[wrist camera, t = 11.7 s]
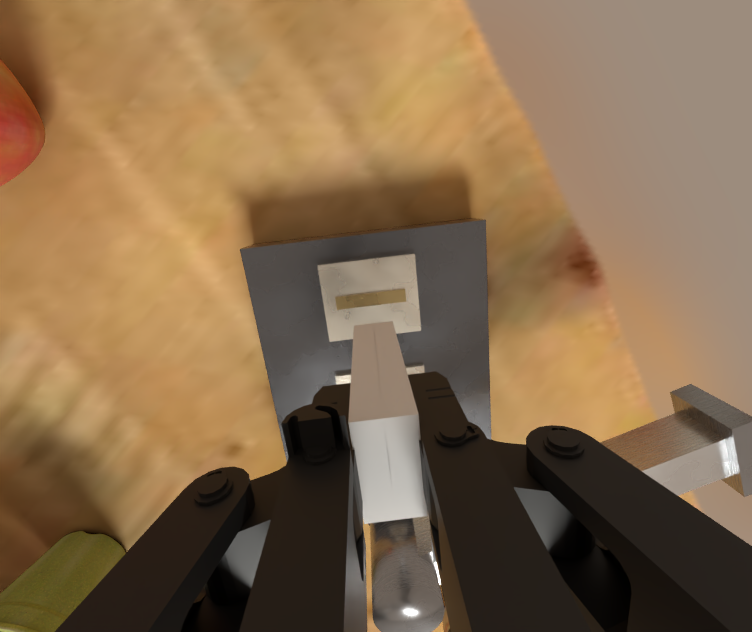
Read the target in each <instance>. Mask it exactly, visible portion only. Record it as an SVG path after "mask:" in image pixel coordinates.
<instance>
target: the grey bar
mask: <svg viewBox="0 0 752 632" xmlns="http://www.w3.org/2000/svg"><path fill="white" fill-rule="evenodd" d="M670 394H671V398H672V402H673V407H674V411H675V413H674V414H672V415H669V416H667V417H664V418H661V419H659V420H656V421H654V422H651V423H649V424H646V425H644V426H641V427H639V428H636V429H634V430H631V431H629V432H626V433H623V434H621V435H618V436H616V437H613V438H611V439H608V440H606V441H603V442H601V444H602V445H604V446H605V447H607V448H608V449H610V450H611V451H613V452H614V453H616V454H617V455H619V456H620V457H621V458H623V459H624V460H626V461H627V462H629V463H630V464H632V465H633V466H635V467H636V468H638V469H639V470H641V471H642V472H643V473H645V474H646V475H648V476H649V477H651V478H652V479H654V480H655V481H657V482H658V483H660V484H661V485H663V486H664V487H666V488H667V489H668V490H670V491H671V492H673V493H674V494H676V495H677V496H678V495H681V494H684V493H686V492H689V491H692V490H694V489H697V488H700V487H702V486H705V485H708V484H710V483H713V482H715V481H718V480H723V481H724V482H725V483H727V484H728V485H729V486H731V487H732V488H733V489H735V490H736V491H737V492H739V493H740V494H741V495H743V496H744V497H746V496H748V495H751V494H752V417H751V416H750V415H748V414H746V413H744V412H742V411H740V410H739V409H736V408H735V407H733V406H731V405H729V404H727V403H725V402H724V401H721V400H720V399H718V398H716V397H714V396H712V395H710V394H709V393H707V392H705V391H703V390H701V389H699V388H698V387H696V386H693V385H692V384H689V385H687V386H684V387H682V388H679V389H677V390H675V391H672V392H670ZM427 512H428V511H427ZM370 538H371V572H372V605H373V620H374V623H375V625H376V627H377V628H378V629H379V630H380V631H381V632H432V631H433V630H434V629H436V628H437V627H438V626H439V624H440V623H441V622H442V620H443V617H444V612H445V611H444V604H443V599H442V594H441V590H440V585H441V582H440V577H439V572H438V568H437V563H433V554H432V543H431V532H430V521H429V514H428V516H424V517H416V518H408V519H400V520H391V521H383V522H375V523H370Z"/></svg>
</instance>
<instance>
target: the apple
mask: <svg viewBox="0 0 752 632" xmlns="http://www.w3.org/2000/svg"><path fill="white" fill-rule="evenodd" d="M44 142H45V130H44V125H43V122H42V120H41V118H40V116H39V114H38V112H37V110H36V108H35V106H34V104H33V103H32V101H31V99H30V98H29V96H28V95H27V93H26V92H25V90H24V89H23V87H22V86H21V85H20V83H19V82H18V80H17V79H16V78H15V76H14V75H13V74H12V72H11V71H10V70H9V69H8V67H7V66H6V65H5V64H4V63H3V62H2V60H1V59H0V186H2V185H3V184H5V183H7V182H8V181H10V180H11V179H13V178H14V177H16V176H17V175H18V174H20V173H21V172H22V171H23V170H24V169H26V168H27V167H28V166H29V165H30V164H31V163H32V162H33V161H34V160H35V158H36V157H37V156H38V154H39V152H40V151H41V149H42V147H43V145H44Z"/></svg>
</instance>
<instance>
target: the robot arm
mask: <svg viewBox="0 0 752 632" xmlns="http://www.w3.org/2000/svg"><path fill="white" fill-rule="evenodd" d="M281 425H282V429H283V434H284V438H285V443H286V447H287V452H288V461H287V464H286V466H285V467H283V468H281V469H280V470H278V471H275V472H273V473H271V474H268V475H265V476H262V477H260V478H257V479H254V480H251V481H250V478H249V474H248V473H247V472H246V471H245V470H244V469H241V468H237V467H225V468H219V469H216V470H213V471H210V472H208V473H206V474H204V475H202V476H201V477H199V478H197V479H195V480H194V481H193V482H192V483H191V484H190V485H188V486H187V487H186V488H185V489H184V490H183V491H182V492H181V493H180V495H179V496H178V497H177V498H176V499H175V500H174V501H173V502H172V503H171V504H170V505H169V507H168V508H167V509H166V510H165V511H164V512H163V513H162V514H161V515H160V516H159V518H158V519H157V520H156V521H155V522H154V523H153V524H152V525H151V526H150V527H149V529H148V530H147V531H146V532H145V533H144V534H143V535H142V536H141V537H140V538H139V540H138V541H137V542H136V543H135V544H134V545H133V546H132V547H131V548H130V549H129V550H128V552H127V553H126V554H125V555H124V556H123V557H122V558H121V559H120V560H119V561H118V563H117V564H116V565H115V566H114V567H113V568H112V569H111V570H110V571H109V572H108V574H107V575H106V576H105V577H104V578H103V579H102V580H101V581H100V582H99V583H98V584H97V586H96V587H95V588H94V589H93V590H92V591H91V592H90V593H89V594H88V595H87V597H86V598H85V599H84V600H83V601H82V602H81V603H80V604H79V605H78V606H77V608H76V609H75V610H74V611H73V612H72V613H71V614H70V615H69V616H68V617H67V619H66V620H65V621H64V622H63V623H62V624H61V625H60V626H59V627H58V628H57V629H56V631H55V632H367V594H366V544H365V538H364V531H363V520H364V524H367V523H375V522H383V521H391V520H400V519H408V518H416V517H424V516H428V514H429V521H430V532H431V543H432V554H433V563H437V568H438V572H439V577H440V582H441V587H442V592H443V596H444V601H445V606H446V611H447V615H448V620H449V625H450V630H451V632H752V546H750V545H749V544H748V543H746V542H745V541H743V540H742V539H740V538H739V537H737V536H736V535H734V534H733V533H732V532H730V531H728V530H727V529H726V528H724V527H723V526H721V525H720V524H718V523H717V522H715V521H714V520H712V519H711V518H710V517H708V516H707V515H705V514H704V513H702V512H701V511H699V510H698V509H696V508H695V507H693V506H692V505H690V504H689V503H688V502H686V501H685V500H683V499H682V498H680V497H679V496H677V495H676V494H674V493H673V492H671V491H670V490H668V489H667V488H666V487H664V486H663V485H661V484H660V483H658V482H657V481H655V480H654V479H652V478H651V477H649V476H648V475H646V474H645V473H643V472H642V471H641V470H639V469H638V468H636V467H635V466H633V465H632V464H630V463H629V462H627V461H626V460H624V459H623V458H621V457H620V456H619V455H617V454H616V453H614V452H613V451H611V450H610V449H608V448H607V447H605V446H604V445H602V444H601V443H599V442H598V441H597V440H595V439H594V438H592V437H591V436H589V435H587V434H585V433H583V432H581V431H579V430H576V429H572V428H569V427H565V426H552V425H551V426H544V427H539V428H537V429H535V430H533V431H531V432H530V433H529V435H528V436H527V438H526V445H522V444H511V443H503V442H497V441H494V440H491V439H487V437H486V435H485V434H484V432H483V431H482V430H481V429H480V428H479V427H478V426H477V425H475V424H473V423H471V422H469V421H468V420H467V418H466V416H465V414H464V412H463V410H462V408H461V406H460V404H459V402H458V400H457V398H456V396H455V394H454V392H453V390H452V389H451V386H450V384H449V382H448V380H447V378H446V377H444V376H443V375H441V374H440V373H438V372H437V371H434V372H426V373H418V374H410V375H407V371H406V367H405V364H404V360H403V357H402V353H401V349H400V346H399V342H398V339H397V335H396V332H395V328H394V324H393V321H388V322H379V323H371V324H363V325H355V326H354V332H353V349H352V367H351V383H346V384H338V385H330V386H323V387H322V388H321V389H320V390H319V391H318V392H317V393H316V394H315V395H314V398H313V402H312V404H309V405H305V406H303V407H300V408H298V409H296V410H294V411H293V412H291V413H290V414H288V415H287V416H286V417H285V419H284V420H283V421H282V423H281ZM427 510H428V512H427Z"/></svg>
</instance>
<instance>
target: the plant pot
mask: <svg viewBox="0 0 752 632" xmlns="http://www.w3.org/2000/svg"><path fill="white" fill-rule="evenodd" d="M125 554H126V552H125V551H124V549H123V548H122V546H121V545H120V544H119V543H118V542H116V541H115V540H114V539H112V538H111V537H109V536H107V535H104V534H87V533H85V532H84V531H78V532H73V533H70V534H68V535H66V536H64V537H62V538H61V539H60V540H59V541H58V542H57V543H56V544H55V545H54V546H52V547H51V548H50V549H49V550H48V551H47V552H46V553H45V554H44V555H42V556H41V557H40V558H39V559H38V560H37V561H36V562H35V563H34V564H33V565H31V566H30V567H29V568H28V569H27V570H26V571H25V572H24V573H23V574H21V575H20V576H19V577H18V578H17V579H16V580H15V581H14V582H13V583H12V584H10V585H9V586H8V587H7V588H6V589H5V590H4V591H3V592H2V593H0V632H55V631H56V629H57V628H58V627H59V626H60V625H61V624H62V623H63V622H64V621H65V620H66V619H67V617H68V616H69V615H70V614H71V613H72V612H73V611H74V610H75V609H76V608H77V606H78V605H79V604H80V603H81V602H82V601H83V600H84V599H85V598H86V597H87V595H88V594H89V593H90V592H91V591H92V590H93V589H94V588H95V587H96V586H97V584H98V583H99V582H100V581H101V580H102V579H103V578H104V577H105V576H106V575H107V574H108V572H109V571H110V570H111V569H112V568H113V567H114V566H115V565H116V564H117V563H118V561H119V560H120V559H121V558H122V557H123V556H124V555H125Z"/></svg>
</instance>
